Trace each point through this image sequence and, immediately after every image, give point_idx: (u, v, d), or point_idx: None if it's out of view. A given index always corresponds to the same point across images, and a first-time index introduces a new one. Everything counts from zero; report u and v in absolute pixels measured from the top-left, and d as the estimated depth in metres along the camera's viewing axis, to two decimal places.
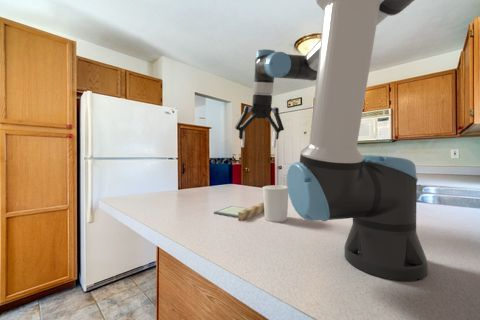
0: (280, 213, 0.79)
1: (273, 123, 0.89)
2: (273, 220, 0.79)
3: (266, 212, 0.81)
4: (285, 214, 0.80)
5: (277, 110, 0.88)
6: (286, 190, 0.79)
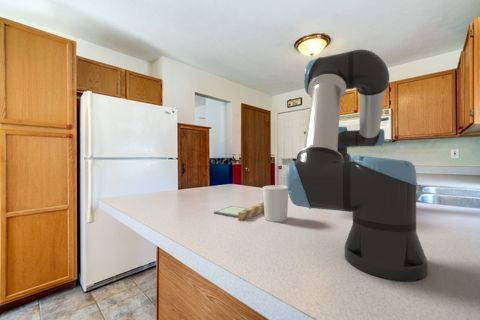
0: (280, 213, 0.79)
1: None
2: (273, 220, 0.79)
3: (266, 212, 0.81)
4: (285, 214, 0.80)
5: None
6: (286, 190, 0.79)
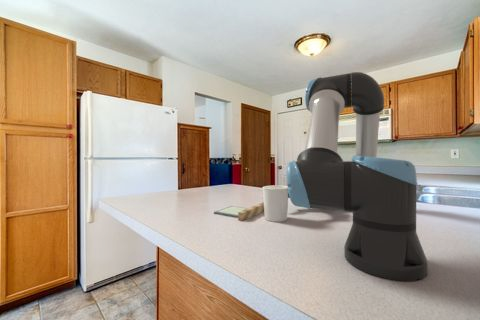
0: (280, 213, 0.79)
1: None
2: (273, 220, 0.79)
3: (266, 212, 0.81)
4: (285, 214, 0.80)
5: None
6: (286, 190, 0.79)
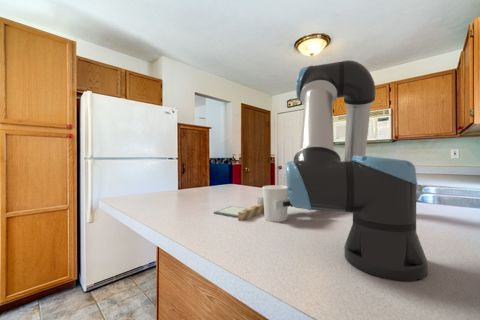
0: (280, 213, 0.79)
1: None
2: (273, 220, 0.79)
3: (266, 212, 0.81)
4: (285, 214, 0.80)
5: None
6: (286, 190, 0.79)
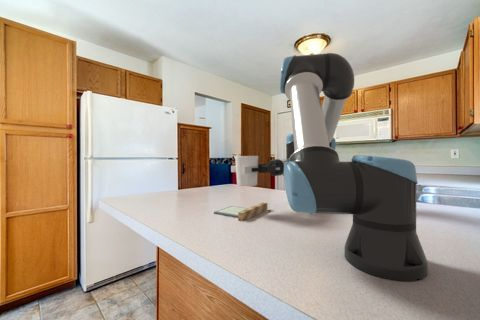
0: (249, 178, 0.87)
1: None
2: (243, 185, 0.88)
3: (237, 178, 0.89)
4: (254, 179, 0.89)
5: (277, 165, 0.92)
6: (255, 158, 0.88)
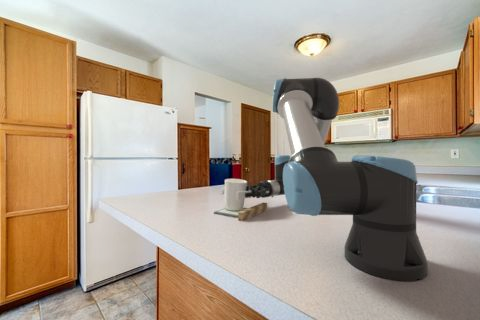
0: (236, 203, 0.92)
1: (255, 189, 0.92)
2: (229, 208, 0.92)
3: (225, 201, 0.94)
4: (240, 205, 0.93)
5: (266, 188, 0.94)
6: (243, 184, 0.92)
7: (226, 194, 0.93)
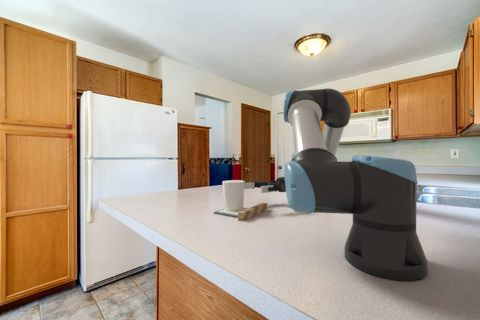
0: (234, 203, 0.92)
1: (276, 184, 0.99)
2: (229, 209, 0.93)
3: (224, 202, 0.95)
4: (239, 204, 0.93)
5: None
6: (240, 184, 0.92)
7: (224, 195, 0.94)
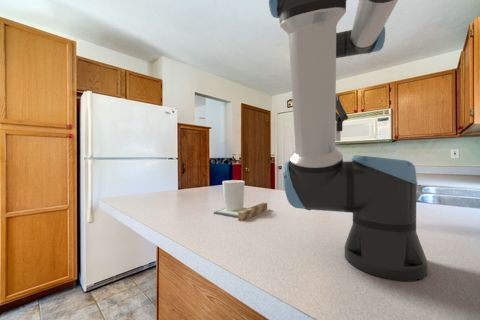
0: (234, 203, 0.92)
1: None
2: (229, 209, 0.93)
3: (224, 202, 0.95)
4: (239, 204, 0.93)
5: None
6: (240, 184, 0.92)
7: (224, 195, 0.94)
